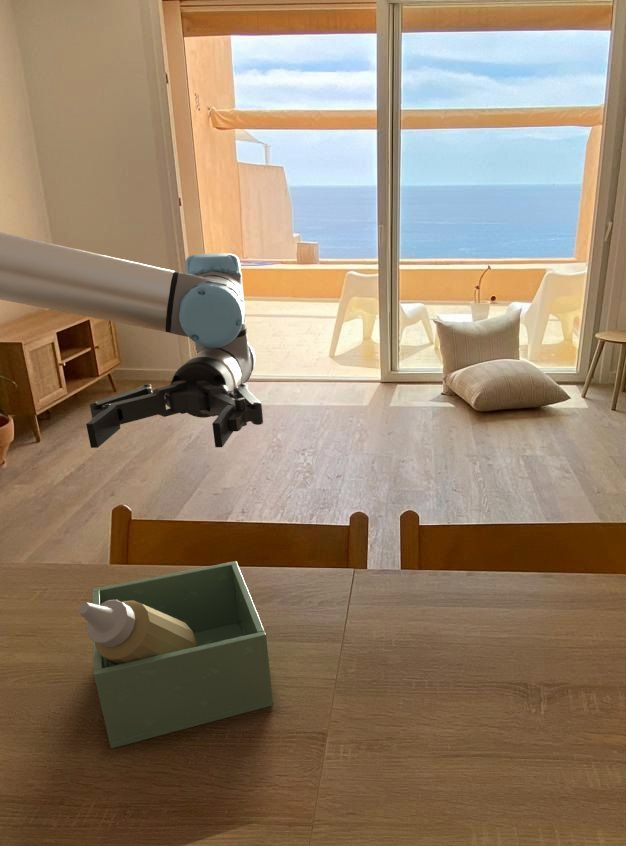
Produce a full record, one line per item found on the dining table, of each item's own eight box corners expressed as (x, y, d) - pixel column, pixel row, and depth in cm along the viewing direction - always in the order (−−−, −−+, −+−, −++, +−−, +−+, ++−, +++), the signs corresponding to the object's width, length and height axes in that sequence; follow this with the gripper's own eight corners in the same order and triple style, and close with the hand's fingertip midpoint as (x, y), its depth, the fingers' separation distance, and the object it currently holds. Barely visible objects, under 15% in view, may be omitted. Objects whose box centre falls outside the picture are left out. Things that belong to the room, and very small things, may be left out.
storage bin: (106, 654, 89) (92, 588, 85) (243, 623, 95) (236, 560, 90) (111, 748, 74) (93, 674, 70) (273, 705, 80) (266, 634, 76)
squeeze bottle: (139, 690, 82) (34, 643, 67) (163, 625, 86) (68, 566, 71) (197, 700, 79) (100, 653, 64) (219, 633, 83) (132, 573, 68)
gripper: (300, 409, 95) (272, 467, 75) (120, 410, 96) (47, 468, 76) (296, 354, 92) (267, 401, 72) (110, 356, 93) (32, 402, 73)
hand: (154, 435), depth 74 cm, fingers open, 13 cm apart
